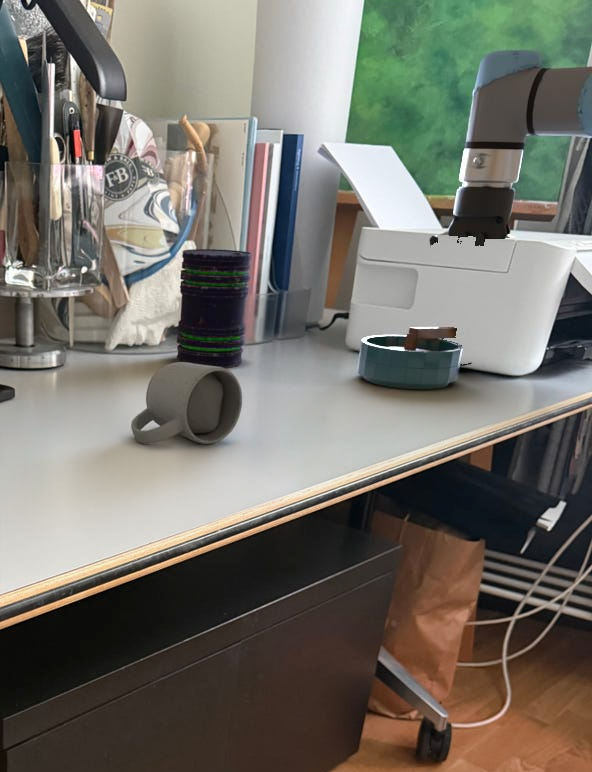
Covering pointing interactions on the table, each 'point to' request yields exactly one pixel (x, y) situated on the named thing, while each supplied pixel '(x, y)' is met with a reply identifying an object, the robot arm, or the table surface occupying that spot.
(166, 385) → the ceramic mug
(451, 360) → the bowl
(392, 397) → the table surface
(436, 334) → the wooden crane toy
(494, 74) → the robot arm
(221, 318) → the storage jar
